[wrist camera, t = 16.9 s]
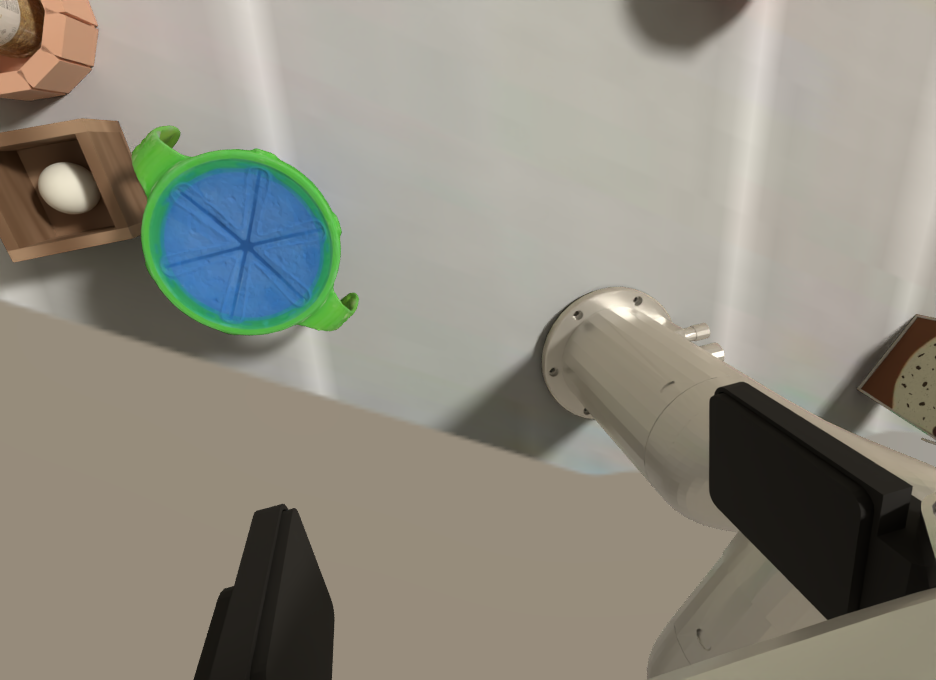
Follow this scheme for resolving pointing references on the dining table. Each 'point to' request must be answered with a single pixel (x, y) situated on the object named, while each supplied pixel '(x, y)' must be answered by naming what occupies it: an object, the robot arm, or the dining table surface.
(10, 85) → the pot
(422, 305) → the dining table surface
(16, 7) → the sprinkles bottle
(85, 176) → the ball
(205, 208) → the snack cup
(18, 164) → the walnut box
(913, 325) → the food container
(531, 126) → the dining table surface
